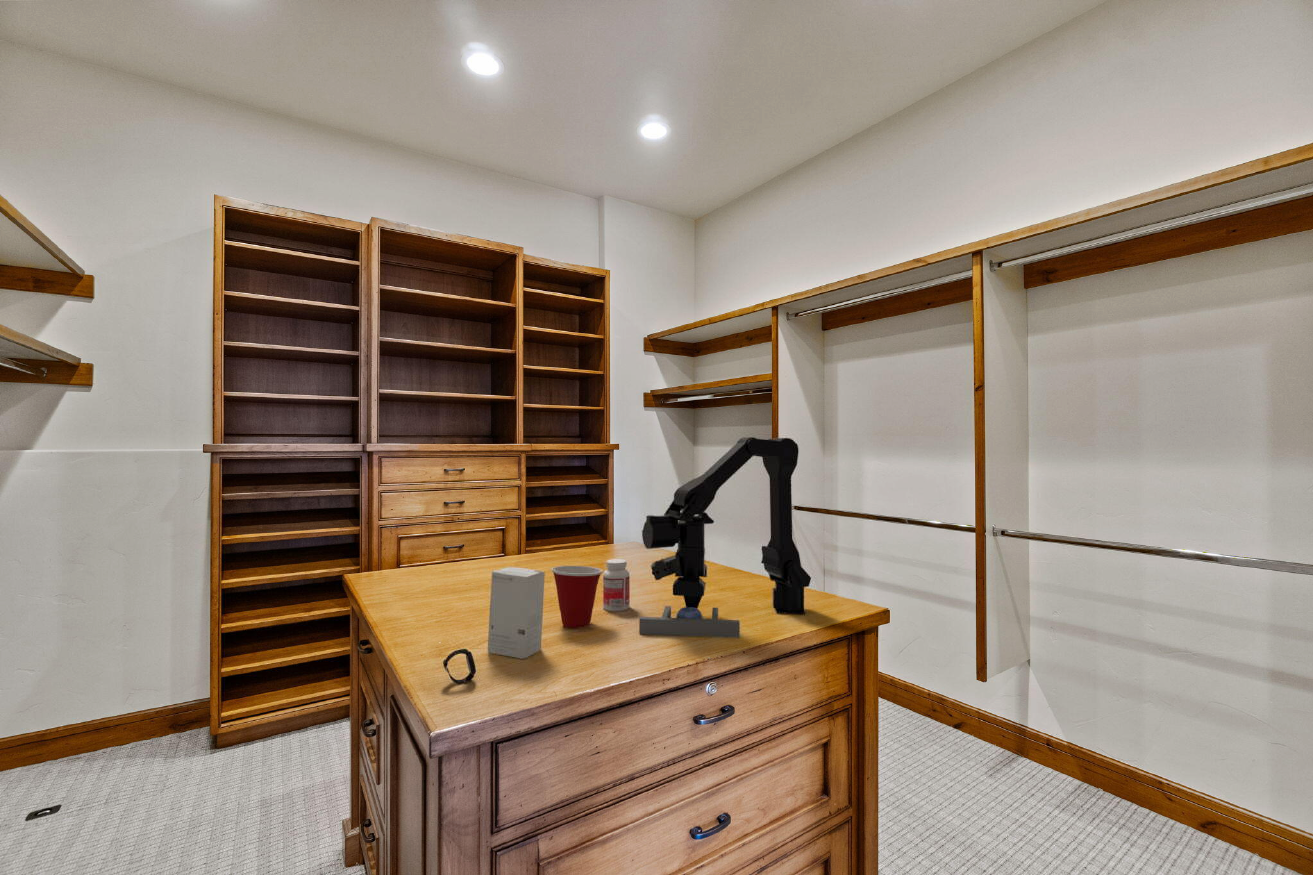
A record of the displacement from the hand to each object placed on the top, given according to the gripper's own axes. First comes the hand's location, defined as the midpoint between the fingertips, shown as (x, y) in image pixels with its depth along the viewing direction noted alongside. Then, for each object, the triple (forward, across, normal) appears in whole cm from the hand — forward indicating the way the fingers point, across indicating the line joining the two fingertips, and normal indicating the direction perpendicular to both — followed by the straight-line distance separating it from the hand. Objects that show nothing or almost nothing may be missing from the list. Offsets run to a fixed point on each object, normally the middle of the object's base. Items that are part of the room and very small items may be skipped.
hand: (691, 618), depth 121 cm
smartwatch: (+1, +35, -35) cm, 49 cm away
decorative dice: (+1, +4, 0) cm, 4 cm away
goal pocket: (+1, +3, 0) cm, 3 cm away
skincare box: (+1, +21, -31) cm, 37 cm away
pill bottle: (+2, -9, -18) cm, 20 cm away
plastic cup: (+1, +4, -24) cm, 24 cm away
